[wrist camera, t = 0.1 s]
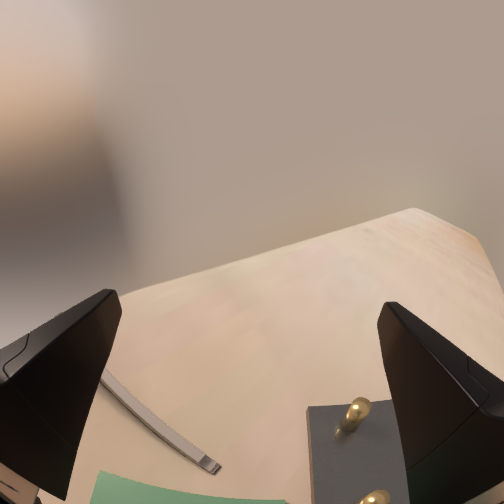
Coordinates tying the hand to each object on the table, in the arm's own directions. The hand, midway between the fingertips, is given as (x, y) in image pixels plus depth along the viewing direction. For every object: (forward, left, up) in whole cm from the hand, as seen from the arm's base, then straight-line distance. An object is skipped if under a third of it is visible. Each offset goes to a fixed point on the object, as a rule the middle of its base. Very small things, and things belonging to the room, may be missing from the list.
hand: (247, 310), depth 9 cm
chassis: (0, -14, -17) cm, 22 cm away
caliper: (+5, +11, -17) cm, 21 cm away
